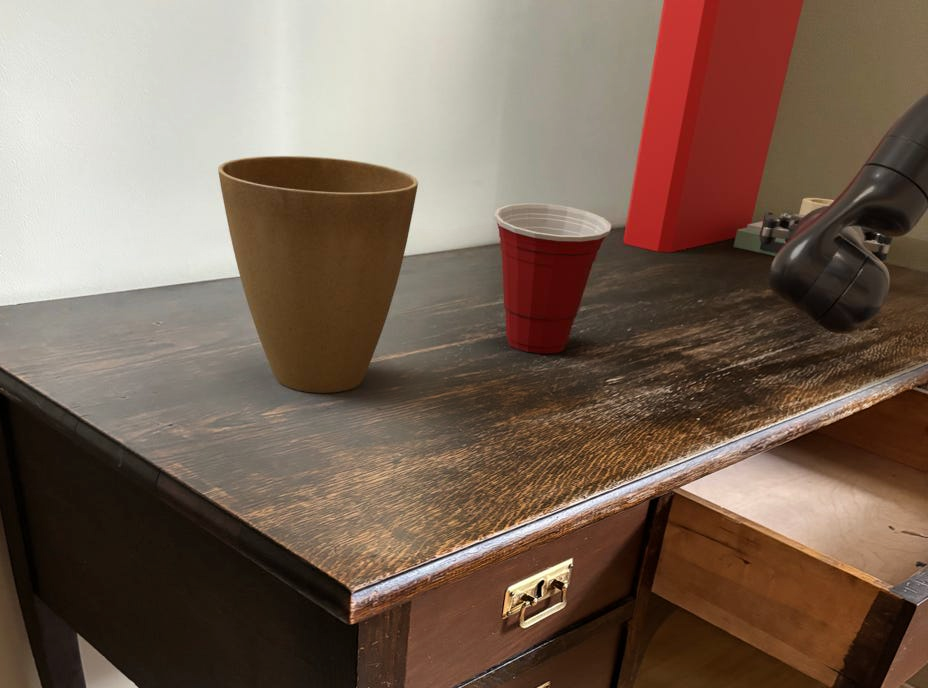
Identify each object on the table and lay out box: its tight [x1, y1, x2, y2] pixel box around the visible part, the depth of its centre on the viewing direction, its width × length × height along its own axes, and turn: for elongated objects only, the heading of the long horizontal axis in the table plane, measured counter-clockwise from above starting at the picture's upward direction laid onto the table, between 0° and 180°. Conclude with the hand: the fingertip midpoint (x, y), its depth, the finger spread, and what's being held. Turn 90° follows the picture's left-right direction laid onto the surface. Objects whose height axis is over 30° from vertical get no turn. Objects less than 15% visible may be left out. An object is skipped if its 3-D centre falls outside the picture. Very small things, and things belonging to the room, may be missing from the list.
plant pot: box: [217, 155, 419, 394], centre depth 77 cm, size 15×15×16 cm
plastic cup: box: [493, 202, 612, 354], centre depth 91 cm, size 11×11×12 cm
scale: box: [732, 220, 785, 257], centre depth 146 cm, size 13×13×3 cm
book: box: [622, 0, 805, 253], centre depth 140 cm, size 27×8×32 cm, turn 140°
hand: (824, 226), depth 116 cm, fingers open, 8 cm apart
